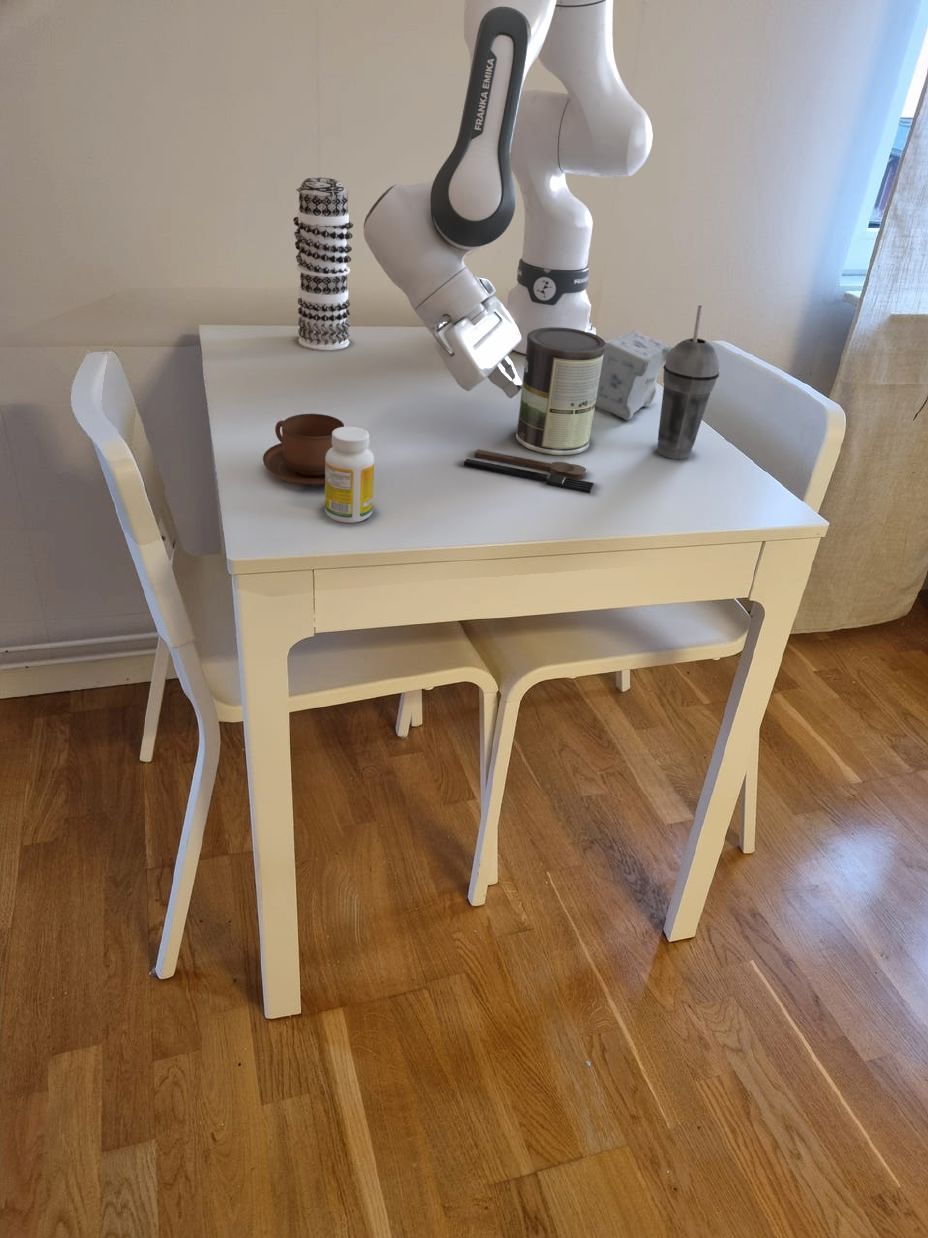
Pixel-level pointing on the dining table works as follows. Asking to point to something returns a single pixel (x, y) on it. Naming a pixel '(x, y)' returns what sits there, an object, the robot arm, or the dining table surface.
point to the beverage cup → (686, 393)
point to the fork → (533, 475)
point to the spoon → (537, 464)
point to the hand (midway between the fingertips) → (517, 392)
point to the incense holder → (630, 373)
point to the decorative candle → (323, 263)
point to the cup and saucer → (302, 448)
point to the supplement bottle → (349, 476)
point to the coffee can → (559, 390)
